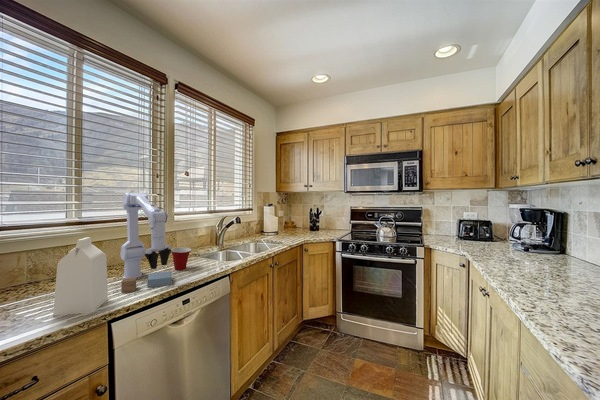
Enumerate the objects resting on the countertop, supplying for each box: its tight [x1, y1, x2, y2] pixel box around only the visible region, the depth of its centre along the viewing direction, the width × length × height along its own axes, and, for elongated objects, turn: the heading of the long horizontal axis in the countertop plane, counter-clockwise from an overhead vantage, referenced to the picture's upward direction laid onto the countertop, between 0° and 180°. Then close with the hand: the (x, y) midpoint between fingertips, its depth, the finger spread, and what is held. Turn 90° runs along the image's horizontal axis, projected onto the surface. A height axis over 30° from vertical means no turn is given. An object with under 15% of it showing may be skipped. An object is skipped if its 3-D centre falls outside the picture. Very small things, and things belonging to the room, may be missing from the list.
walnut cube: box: [120, 277, 138, 294], centre depth 111 cm, size 5×5×5 cm
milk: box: [52, 236, 109, 317], centre depth 93 cm, size 12×12×26 cm
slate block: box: [146, 271, 173, 289], centre depth 121 cm, size 10×10×4 cm
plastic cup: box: [170, 246, 192, 271], centre depth 144 cm, size 11×11×12 cm
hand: (159, 266), depth 113 cm, fingers open, 7 cm apart
